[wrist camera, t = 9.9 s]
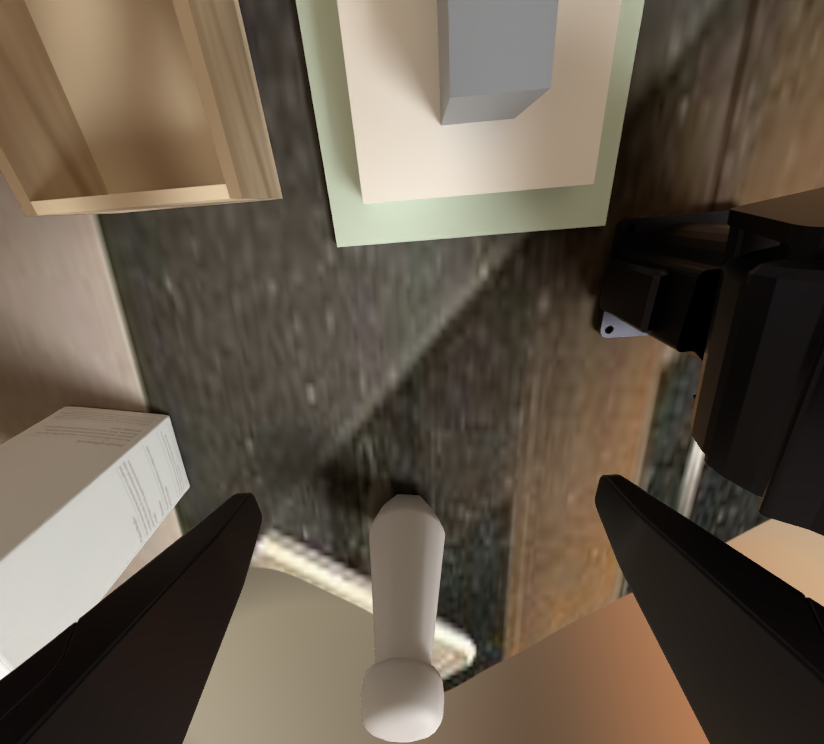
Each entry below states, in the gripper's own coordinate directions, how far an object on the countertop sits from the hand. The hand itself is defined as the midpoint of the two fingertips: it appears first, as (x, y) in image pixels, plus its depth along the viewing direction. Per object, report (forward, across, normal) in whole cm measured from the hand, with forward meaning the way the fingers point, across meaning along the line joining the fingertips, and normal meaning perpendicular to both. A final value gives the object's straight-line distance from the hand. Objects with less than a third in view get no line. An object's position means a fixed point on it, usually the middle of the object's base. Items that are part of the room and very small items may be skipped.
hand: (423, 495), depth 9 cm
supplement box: (+13, +22, +8) cm, 27 cm away
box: (+13, +11, -12) cm, 21 cm away
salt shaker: (+13, +2, +16) cm, 21 cm away
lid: (+13, -3, -12) cm, 18 cm away
